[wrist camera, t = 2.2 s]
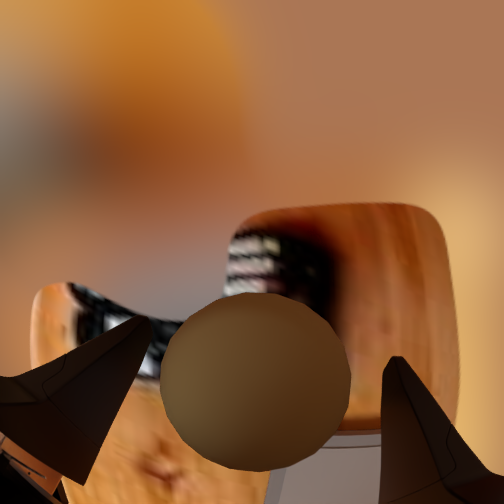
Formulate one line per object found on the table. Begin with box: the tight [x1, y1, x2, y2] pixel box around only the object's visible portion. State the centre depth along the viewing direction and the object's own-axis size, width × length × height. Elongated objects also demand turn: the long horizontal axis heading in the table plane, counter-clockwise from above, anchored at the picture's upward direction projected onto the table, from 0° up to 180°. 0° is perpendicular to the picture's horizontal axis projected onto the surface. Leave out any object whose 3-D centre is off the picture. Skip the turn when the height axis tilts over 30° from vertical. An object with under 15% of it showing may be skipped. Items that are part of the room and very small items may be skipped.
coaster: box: [264, 429, 381, 504], centre depth 12 cm, size 9×9×1 cm
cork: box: [160, 292, 351, 472], centre depth 10 cm, size 6×6×11 cm
